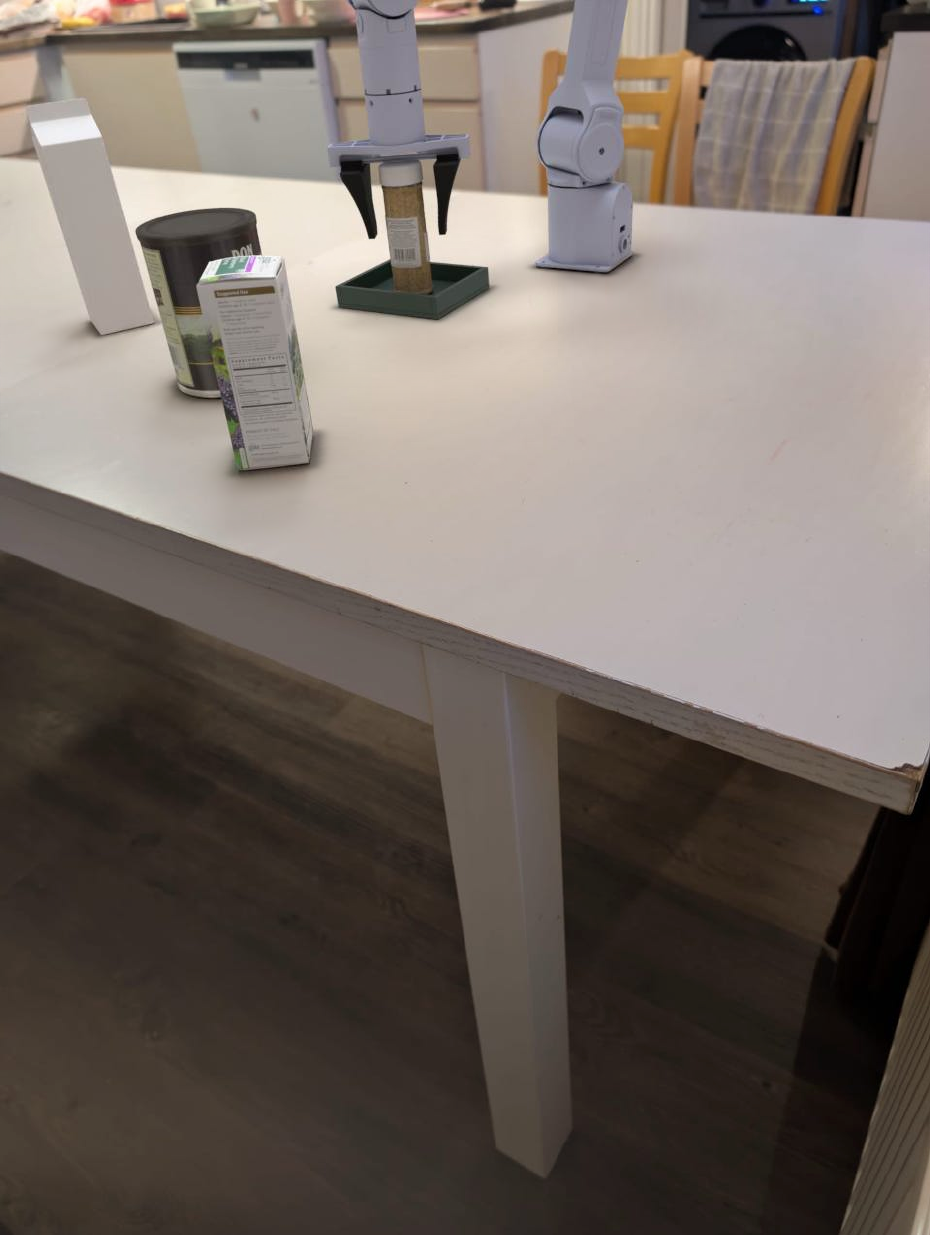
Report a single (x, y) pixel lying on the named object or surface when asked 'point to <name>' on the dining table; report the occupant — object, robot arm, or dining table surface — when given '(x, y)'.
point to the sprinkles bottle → (406, 226)
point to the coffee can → (192, 281)
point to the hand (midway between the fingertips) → (407, 234)
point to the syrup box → (257, 360)
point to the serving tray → (379, 295)
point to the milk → (89, 214)
